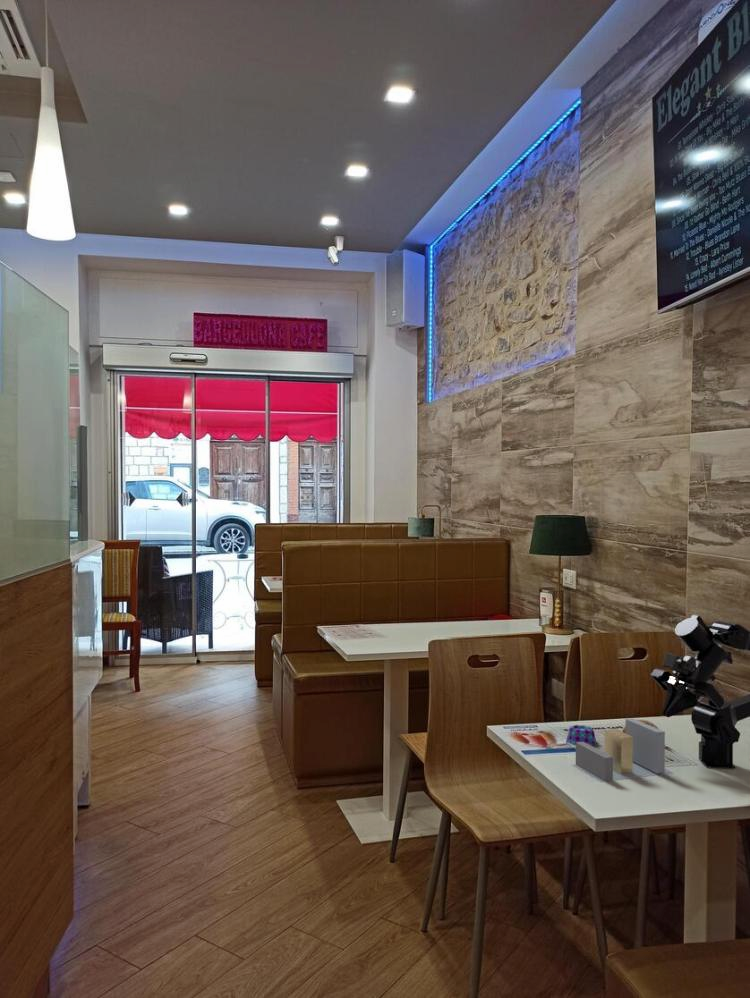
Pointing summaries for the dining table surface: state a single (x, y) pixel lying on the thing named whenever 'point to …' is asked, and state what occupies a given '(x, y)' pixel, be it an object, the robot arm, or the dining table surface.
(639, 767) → the plate
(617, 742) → the brass block
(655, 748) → the sliding jaw
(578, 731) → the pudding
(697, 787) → the dining table surface
